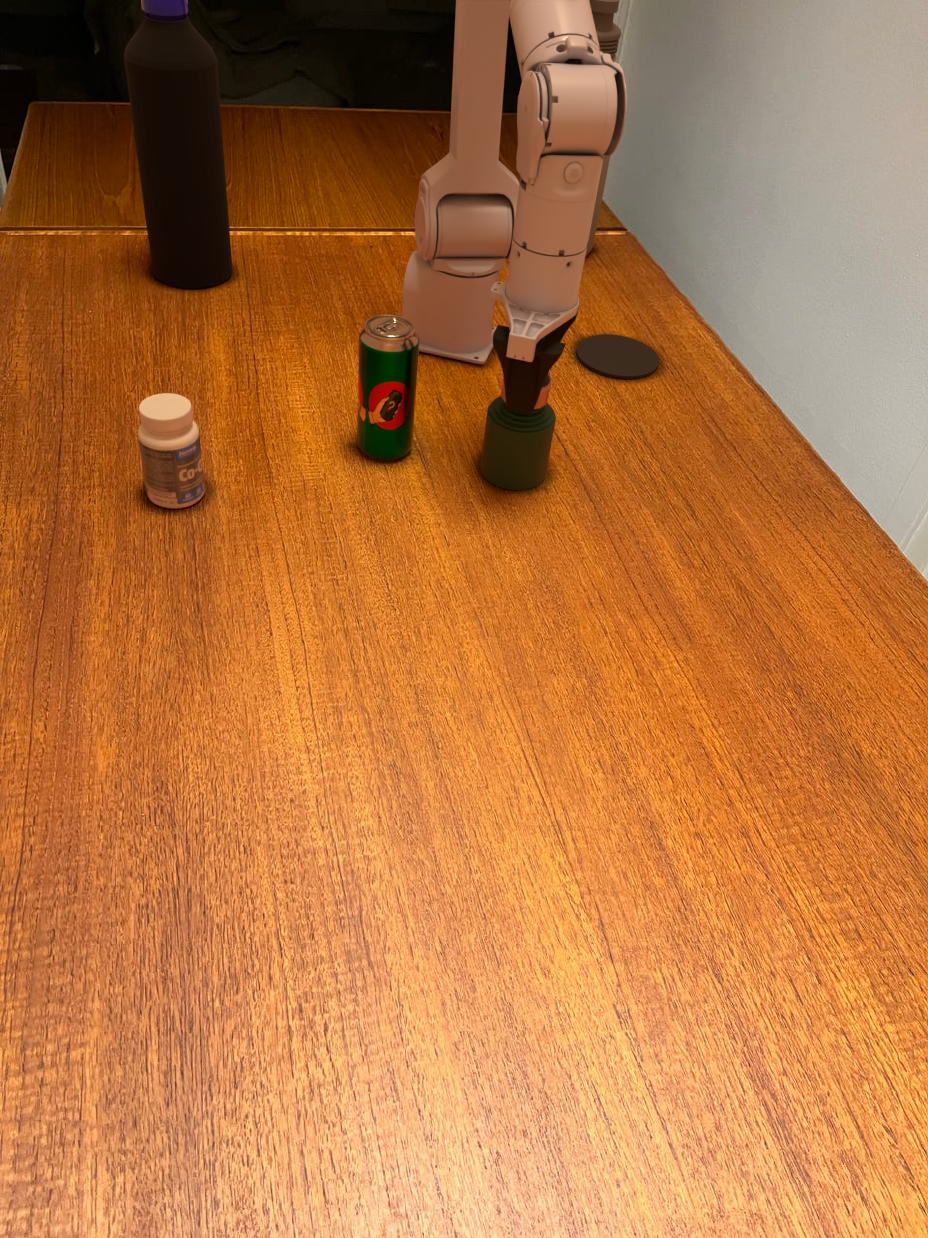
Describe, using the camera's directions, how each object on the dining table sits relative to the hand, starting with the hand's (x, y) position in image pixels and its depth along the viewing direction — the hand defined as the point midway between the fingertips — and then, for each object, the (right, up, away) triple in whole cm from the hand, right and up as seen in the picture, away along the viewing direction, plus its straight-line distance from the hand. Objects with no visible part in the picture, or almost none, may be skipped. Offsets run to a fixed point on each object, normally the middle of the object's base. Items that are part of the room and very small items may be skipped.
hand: (525, 397), depth 83 cm
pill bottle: (-29, -8, -2) cm, 31 cm away
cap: (0, +1, -1) cm, 2 cm away
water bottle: (+6, +29, +42) cm, 52 cm away
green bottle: (-1, -5, +5) cm, 8 cm away
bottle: (-36, +20, +28) cm, 50 cm away
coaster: (+11, +9, +22) cm, 27 cm away
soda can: (-13, -3, +6) cm, 14 cm away
